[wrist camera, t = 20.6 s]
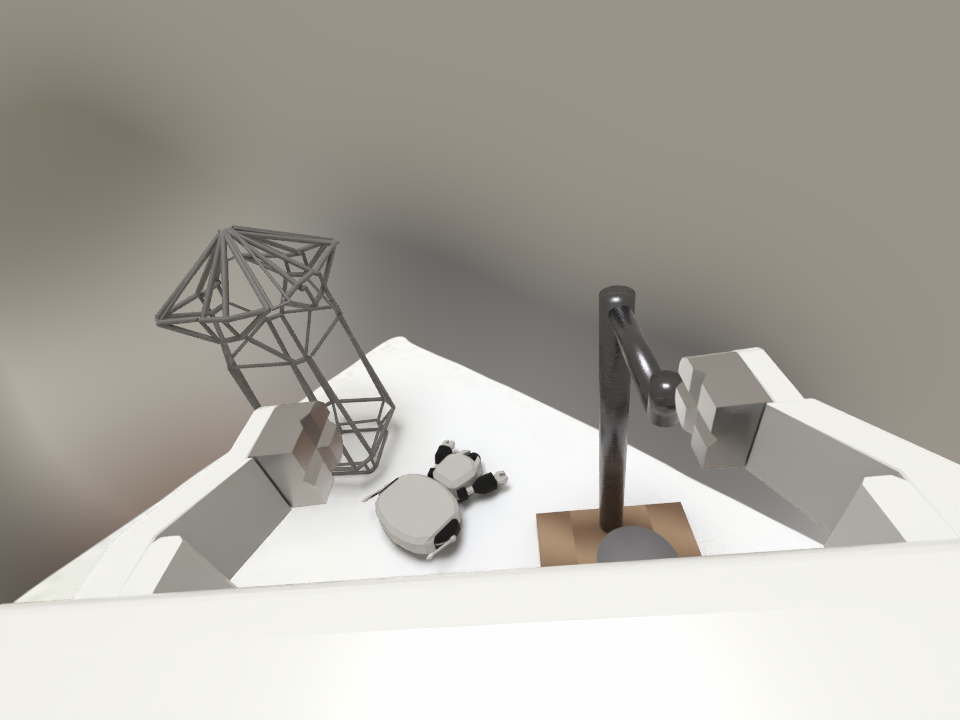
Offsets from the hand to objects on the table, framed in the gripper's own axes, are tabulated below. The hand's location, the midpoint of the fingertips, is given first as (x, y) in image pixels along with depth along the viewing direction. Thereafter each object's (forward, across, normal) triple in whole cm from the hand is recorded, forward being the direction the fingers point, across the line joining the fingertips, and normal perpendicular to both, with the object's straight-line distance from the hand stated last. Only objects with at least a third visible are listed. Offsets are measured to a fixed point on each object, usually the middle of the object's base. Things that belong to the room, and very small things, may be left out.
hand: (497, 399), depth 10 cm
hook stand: (+14, +7, -38) cm, 42 cm away
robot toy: (+25, -12, -40) cm, 49 cm away
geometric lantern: (+35, -28, -40) cm, 60 cm away
